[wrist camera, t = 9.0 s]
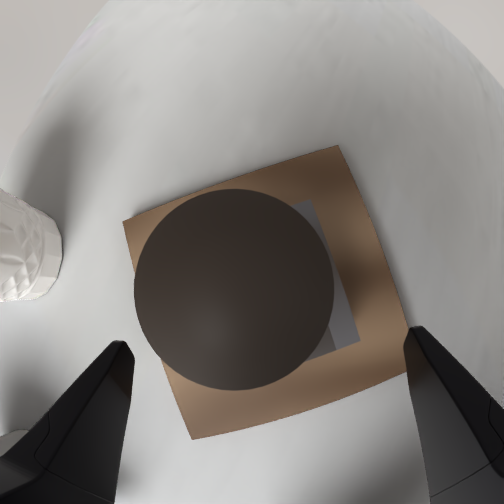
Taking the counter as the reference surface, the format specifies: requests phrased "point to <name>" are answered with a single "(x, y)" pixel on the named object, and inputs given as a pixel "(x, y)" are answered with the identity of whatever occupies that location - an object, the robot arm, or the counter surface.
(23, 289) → the white cup
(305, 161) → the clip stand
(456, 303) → the counter surface
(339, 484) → the counter surface
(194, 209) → the wooden peg
